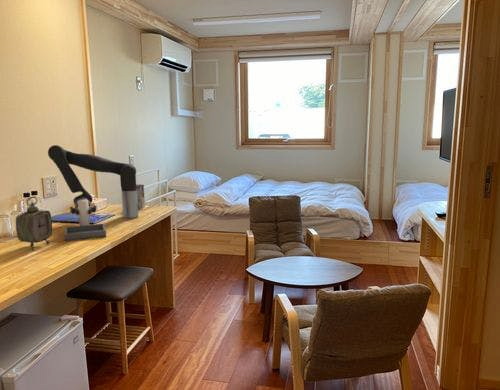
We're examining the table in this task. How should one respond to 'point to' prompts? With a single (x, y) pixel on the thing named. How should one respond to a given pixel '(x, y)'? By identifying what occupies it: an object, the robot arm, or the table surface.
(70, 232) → the tray
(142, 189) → the coffee box
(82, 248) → the table surface
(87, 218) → the canister
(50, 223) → the tabletop clock
